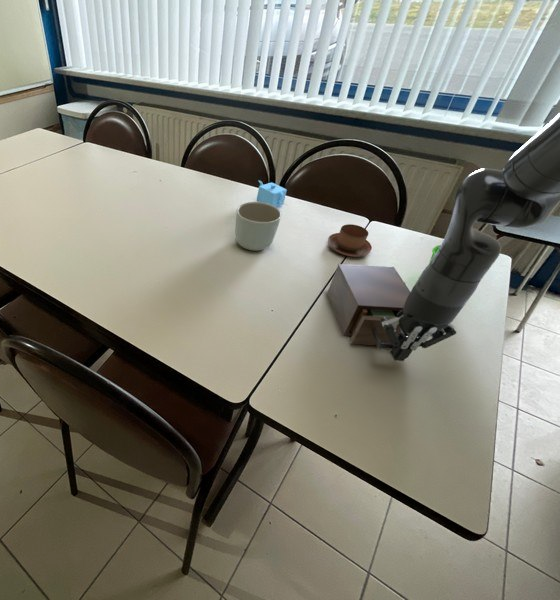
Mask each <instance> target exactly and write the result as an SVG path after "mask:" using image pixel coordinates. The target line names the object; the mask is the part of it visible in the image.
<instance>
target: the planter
mask: <svg viewBox="0 0 560 600" xmlns="http://www.w3.org/2000/svg"><path fill="white" fill-rule="evenodd" d="M281 218H282V213H281V210H280V209H279V208H278V207H274V206H272V205H270V204H267V203H262V202H257V201H248V202H244V203H241V204H240V205H238V206H237V208H236V213H235V222H234V237H235V241H236V242H237V244H238V245H239V246H240V247H241V248H243V249H245V250H248V251H253V252H257V251H262V250H265V249H267V248H268V247H269V246H271V245H272V243H273V241H274V239H275V237H276V234H277V231H278V228H279V225H280V222H281Z"/></svg>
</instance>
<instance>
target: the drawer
mask: <svg viewBox="0 0 560 600" xmlns="http://www.w3.org/2000/svg"><path fill="white" fill-rule="evenodd" d="M392 312H393V313H394V315H395V317H396V315H397V314H398V313H399V312H400V311H393V310H392ZM366 314H367V310H366V309H361V310H360V312H359V314H358V316H357V318H356V320H355V322H354V324H353V326H352V328H351V331H352V334H353V335H352V336H350V339H349V340H350V342H351V344H353V345H354V344H355V345H366V346H367V345H369V346H376V348H377V349H382V350H383V349H384V350H386V349H387V350H391V349H392V347H393V344H392V343H391V341H390V339H389V337H388V335H387V333H386V332H385V330H384V328H383V326H382V324H381V322H380V320H381V319H382V318H387V320H390V319H392V318H395V317H379V316H366ZM399 328H400V325H399V324H398V325H397V328H396V331H395V332H394V333H395V335H398V333H399ZM416 350H417V349H415V350H414V351H416Z"/></svg>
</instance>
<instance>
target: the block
mask: <svg viewBox="0 0 560 600" xmlns="http://www.w3.org/2000/svg"><path fill="white" fill-rule="evenodd" d="M366 310H367V314H366V316H379V317H395V315H394V313H393V312H392V310H376V309H366Z"/></svg>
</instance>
